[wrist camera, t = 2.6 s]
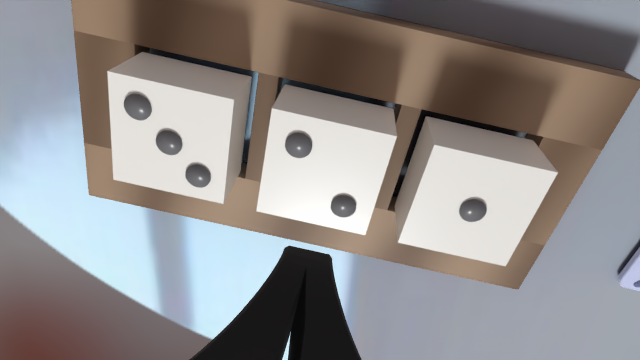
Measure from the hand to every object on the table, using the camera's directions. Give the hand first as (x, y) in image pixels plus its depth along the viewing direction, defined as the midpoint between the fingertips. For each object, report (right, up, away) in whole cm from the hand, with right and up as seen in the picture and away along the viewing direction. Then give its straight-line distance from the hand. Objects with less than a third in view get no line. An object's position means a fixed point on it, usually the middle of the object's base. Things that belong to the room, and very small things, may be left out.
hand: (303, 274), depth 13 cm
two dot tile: (+1, +4, +8) cm, 9 cm away
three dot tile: (-5, +6, +8) cm, 11 cm away
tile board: (+1, +5, +9) cm, 10 cm away
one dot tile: (+7, +3, +8) cm, 11 cm away
